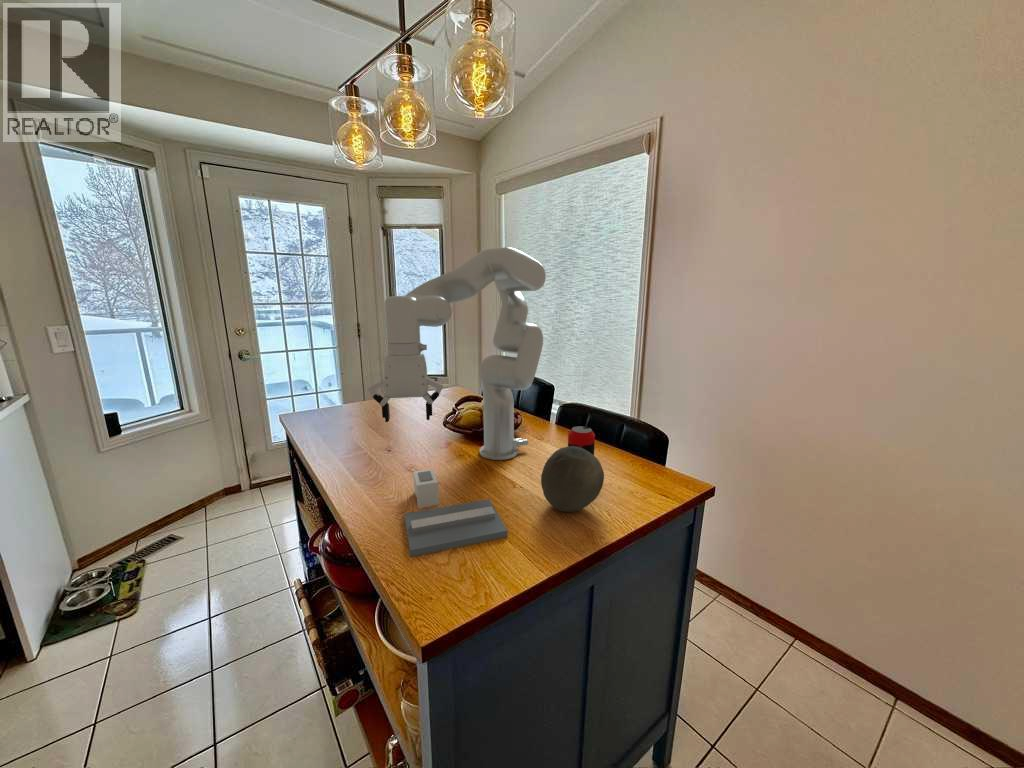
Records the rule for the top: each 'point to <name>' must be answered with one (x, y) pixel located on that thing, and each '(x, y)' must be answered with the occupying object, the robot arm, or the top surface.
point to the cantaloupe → (571, 479)
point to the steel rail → (452, 519)
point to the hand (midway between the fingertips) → (408, 419)
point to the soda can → (582, 438)
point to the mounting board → (453, 529)
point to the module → (426, 488)
